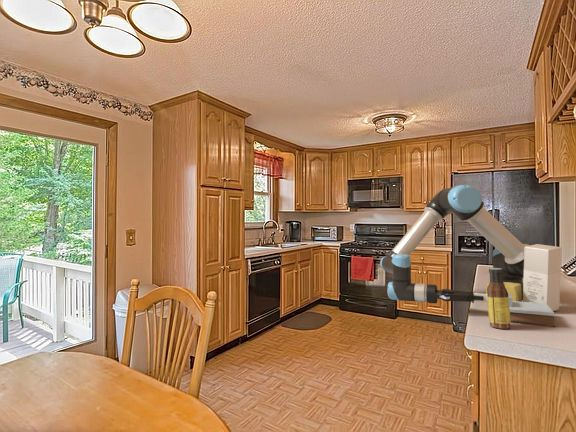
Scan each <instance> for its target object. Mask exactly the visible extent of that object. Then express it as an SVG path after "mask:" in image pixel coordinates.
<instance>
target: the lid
mask: <svg viewBox="0 0 576 432" xmlns="http://www.w3.org/2000/svg"><path fill="white" fill-rule="evenodd" d="M508 297H509V308H510V312H515V313H526V314H536V315H547V316H554V317H555V316H556V315H555V312H554V311H552V310H551V308H550V307H549V306H548V305H547V304H544V303H532V302H523V301H522V302H519V301H512V297H511V295H510V294H508Z"/></svg>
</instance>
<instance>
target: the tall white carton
mask: <svg viewBox="0 0 576 432" xmlns="http://www.w3.org/2000/svg"><path fill="white" fill-rule="evenodd" d="M529 245H530V244H529ZM561 264H562V247H561V246H554V245H547V244H546V245H545V244H541V243H535V244H531V245H530V246H525V248H524V278H523V300H522V302H532V303H544V304H547V305H548V306H549V307H550V308H551V310H552V311H553V312H554V311H558V310H560V300H561V299H560V297H561V273H562V272H561V271H562V270H561V269H562V265H561Z"/></svg>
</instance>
